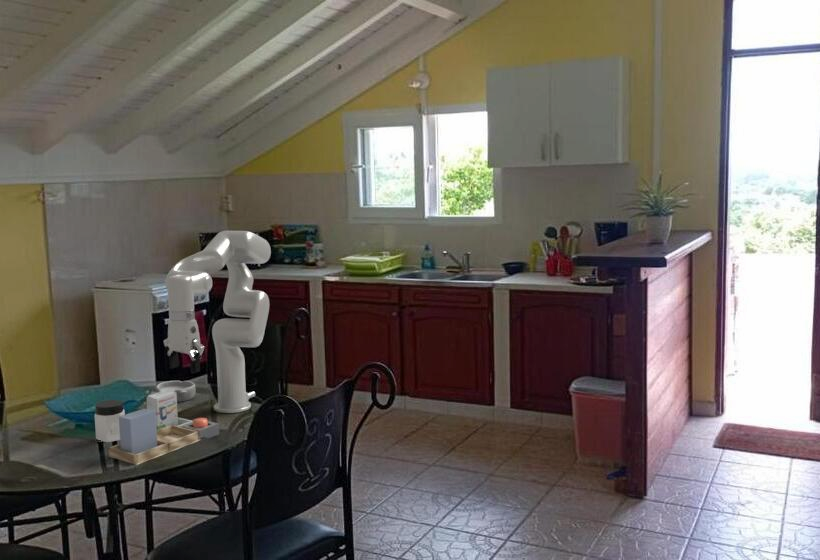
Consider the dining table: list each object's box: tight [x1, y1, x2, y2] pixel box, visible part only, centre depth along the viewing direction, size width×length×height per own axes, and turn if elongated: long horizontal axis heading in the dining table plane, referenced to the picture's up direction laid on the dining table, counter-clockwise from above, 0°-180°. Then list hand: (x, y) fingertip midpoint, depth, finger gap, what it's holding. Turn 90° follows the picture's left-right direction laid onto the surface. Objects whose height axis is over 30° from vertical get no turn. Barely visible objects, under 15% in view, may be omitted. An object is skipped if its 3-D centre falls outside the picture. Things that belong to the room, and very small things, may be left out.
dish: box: [155, 380, 196, 403], centre depth 303 cm, size 14×14×5 cm
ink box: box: [146, 390, 179, 430], centre depth 267 cm, size 9×5×12 cm, turn 148°
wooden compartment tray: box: [107, 425, 201, 466], centre depth 248 cm, size 24×13×4 cm, turn 147°
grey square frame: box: [182, 420, 220, 439], centre depth 262 cm, size 8×8×4 cm
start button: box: [192, 417, 208, 429], centre depth 261 cm, size 4×4×4 cm
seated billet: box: [119, 408, 157, 454], centre depth 242 cm, size 9×5×12 cm, turn 147°
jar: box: [94, 399, 126, 443], centre depth 257 cm, size 9×8×12 cm
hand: (184, 369), depth 257 cm, fingers open, 9 cm apart
